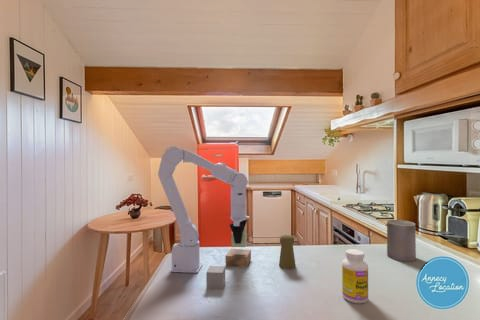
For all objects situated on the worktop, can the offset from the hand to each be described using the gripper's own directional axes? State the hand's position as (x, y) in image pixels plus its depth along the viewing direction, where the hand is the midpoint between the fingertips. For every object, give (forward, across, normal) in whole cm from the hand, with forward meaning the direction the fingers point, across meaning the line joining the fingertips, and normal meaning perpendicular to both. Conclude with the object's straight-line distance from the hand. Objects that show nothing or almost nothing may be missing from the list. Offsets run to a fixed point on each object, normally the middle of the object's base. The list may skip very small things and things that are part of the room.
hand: (238, 241), depth 102 cm
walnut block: (+9, +1, 0) cm, 9 cm away
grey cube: (+8, -18, +5) cm, 21 cm away
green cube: (+1, 0, 0) cm, 1 cm away
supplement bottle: (+9, -23, -35) cm, 43 cm away
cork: (+9, -1, -18) cm, 20 cm away
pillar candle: (+9, +12, -63) cm, 64 cm away
